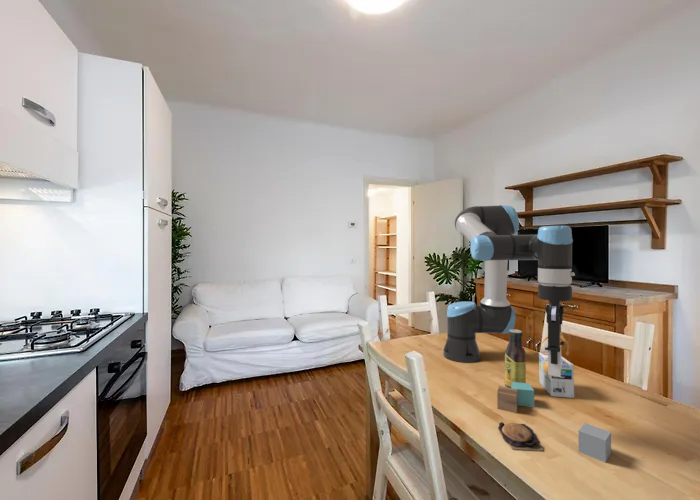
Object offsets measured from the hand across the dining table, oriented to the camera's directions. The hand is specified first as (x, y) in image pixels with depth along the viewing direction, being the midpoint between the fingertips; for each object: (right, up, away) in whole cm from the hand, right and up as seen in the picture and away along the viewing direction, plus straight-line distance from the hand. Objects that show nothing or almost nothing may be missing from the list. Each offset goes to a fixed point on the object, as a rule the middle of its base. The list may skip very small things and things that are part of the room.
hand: (554, 371), depth 84 cm
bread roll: (-12, -16, -4) cm, 20 cm away
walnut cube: (-7, -15, +10) cm, 19 cm away
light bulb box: (+14, -14, +21) cm, 29 cm away
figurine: (+1, -1, +1) cm, 2 cm away
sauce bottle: (+1, -14, +22) cm, 26 cm away
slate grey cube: (+3, -15, -10) cm, 18 cm away
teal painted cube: (-1, -15, +13) cm, 20 cm away
